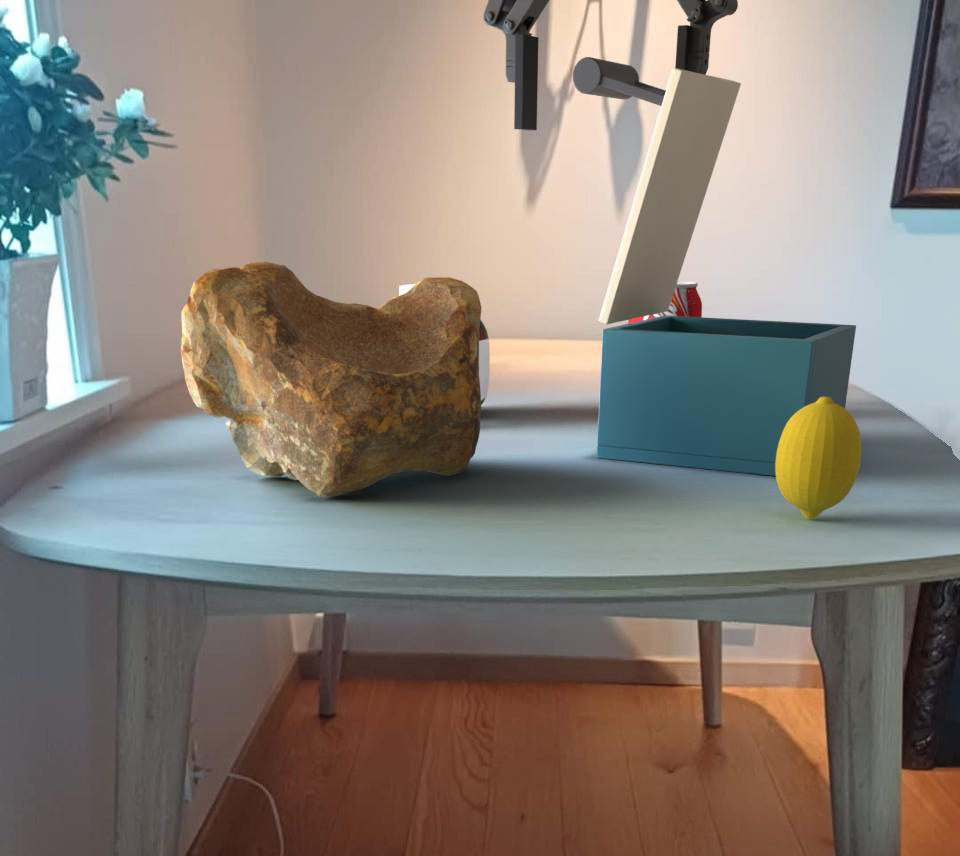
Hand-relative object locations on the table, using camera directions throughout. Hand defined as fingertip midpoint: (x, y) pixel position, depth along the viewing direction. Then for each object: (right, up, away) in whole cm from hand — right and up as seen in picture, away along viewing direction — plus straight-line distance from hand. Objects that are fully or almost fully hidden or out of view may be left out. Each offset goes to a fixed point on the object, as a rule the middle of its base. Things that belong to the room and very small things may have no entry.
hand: (601, 128), depth 101 cm
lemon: (+13, -35, -14) cm, 40 cm away
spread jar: (-14, -16, +22) cm, 30 cm away
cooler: (+11, -24, +6) cm, 27 cm away
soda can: (+8, -14, +25) cm, 30 cm away
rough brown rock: (-19, -30, -4) cm, 36 cm away
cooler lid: (+6, -6, 0) cm, 8 cm away
